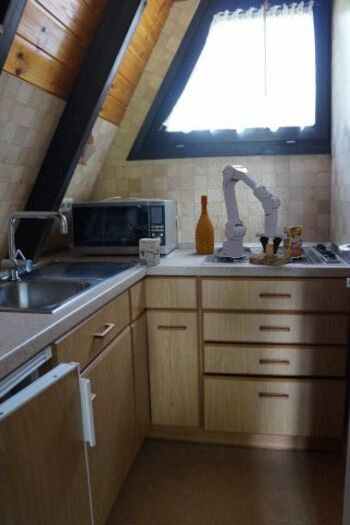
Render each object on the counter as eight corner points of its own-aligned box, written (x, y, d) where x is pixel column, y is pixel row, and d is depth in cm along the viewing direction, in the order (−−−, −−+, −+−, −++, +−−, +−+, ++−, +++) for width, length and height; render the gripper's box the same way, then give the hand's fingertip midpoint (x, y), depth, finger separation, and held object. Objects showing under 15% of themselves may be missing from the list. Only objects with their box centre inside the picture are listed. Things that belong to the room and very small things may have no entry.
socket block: (249, 263, 193) (249, 257, 193) (263, 258, 204) (263, 253, 204) (278, 266, 185) (278, 260, 185) (291, 260, 196) (291, 255, 195)
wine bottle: (217, 252, 225) (217, 194, 219) (208, 255, 217) (208, 195, 211) (201, 250, 230) (200, 194, 224) (192, 253, 222) (190, 195, 216)
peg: (263, 259, 194) (264, 244, 193) (268, 258, 197) (269, 243, 196) (271, 260, 191) (271, 245, 190) (276, 259, 194) (276, 243, 193)
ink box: (139, 264, 198) (138, 239, 195) (143, 262, 202) (142, 238, 200) (156, 265, 195) (155, 240, 193) (160, 263, 200) (159, 238, 197)
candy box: (289, 260, 197) (290, 227, 195) (282, 259, 201) (282, 226, 198) (302, 257, 202) (303, 225, 199) (295, 256, 206) (295, 225, 203)
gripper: (252, 224, 193) (252, 253, 195) (282, 225, 184) (281, 256, 186) (259, 222, 198) (259, 251, 201) (289, 223, 189) (288, 253, 192)
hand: (270, 253), depth 194 cm, fingers closed on peg, 4 cm apart
